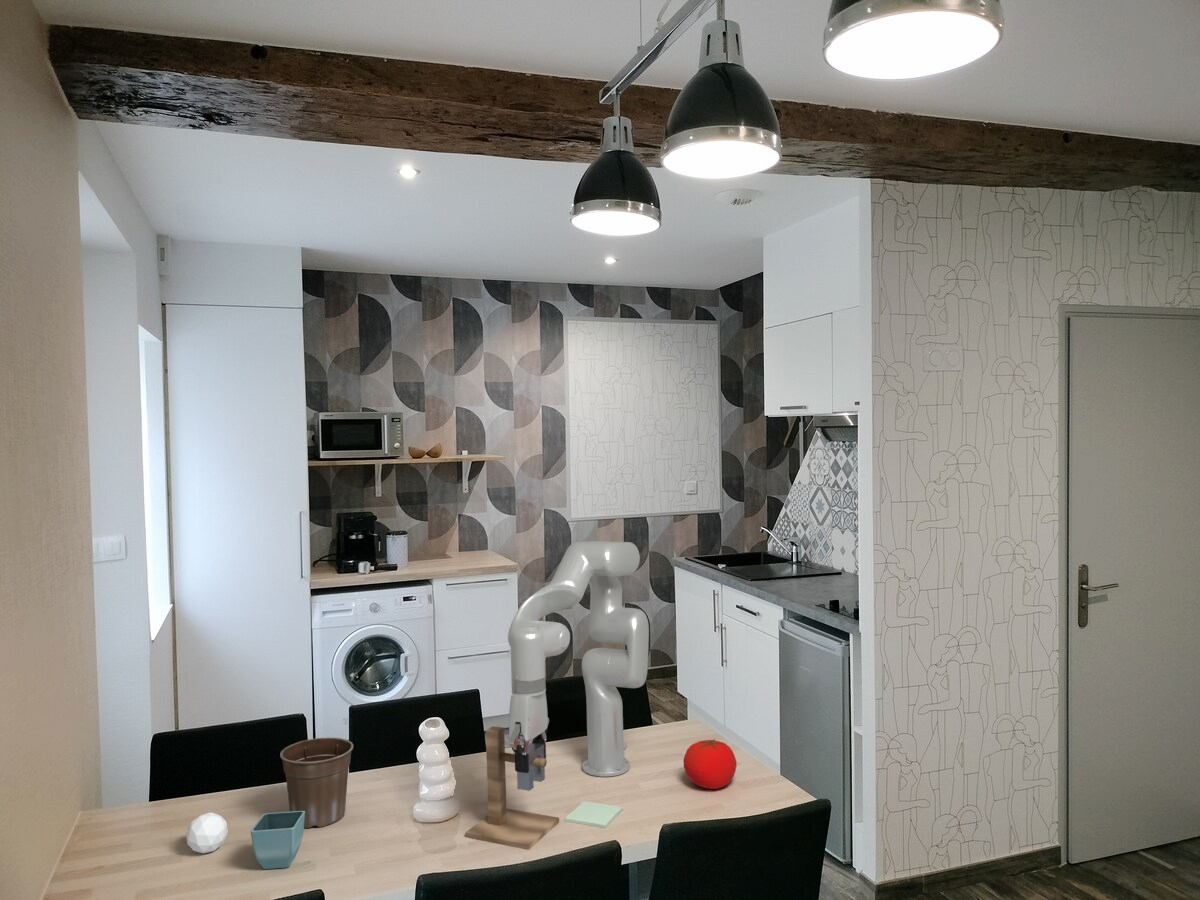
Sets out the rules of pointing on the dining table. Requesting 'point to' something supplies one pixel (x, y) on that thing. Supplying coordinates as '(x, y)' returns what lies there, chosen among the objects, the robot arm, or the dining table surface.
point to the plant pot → (318, 778)
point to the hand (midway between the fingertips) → (530, 764)
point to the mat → (594, 814)
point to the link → (532, 768)
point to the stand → (500, 820)
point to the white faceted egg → (206, 833)
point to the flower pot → (277, 838)
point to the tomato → (710, 763)
